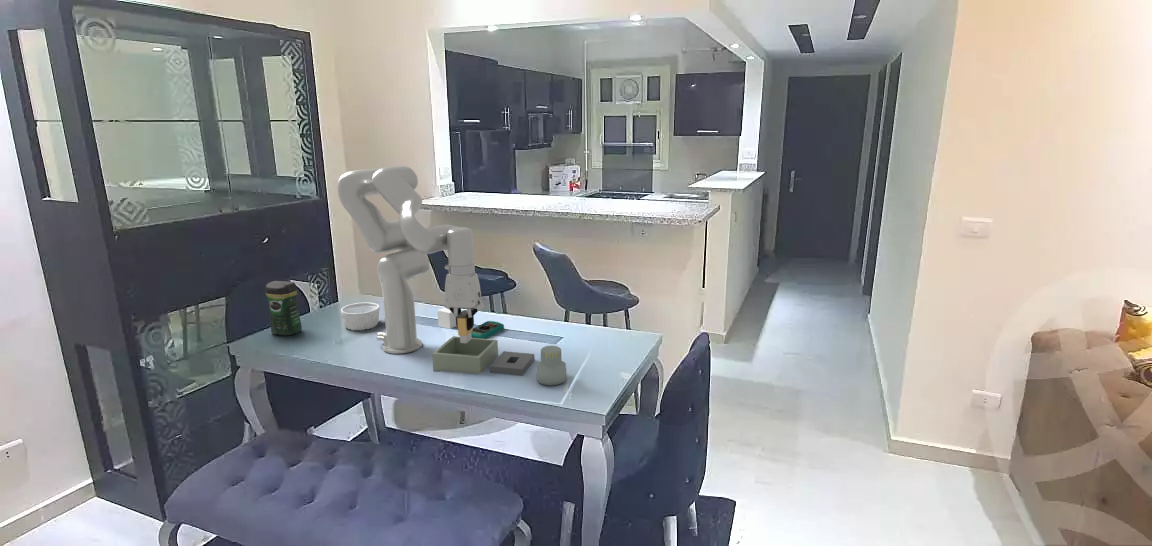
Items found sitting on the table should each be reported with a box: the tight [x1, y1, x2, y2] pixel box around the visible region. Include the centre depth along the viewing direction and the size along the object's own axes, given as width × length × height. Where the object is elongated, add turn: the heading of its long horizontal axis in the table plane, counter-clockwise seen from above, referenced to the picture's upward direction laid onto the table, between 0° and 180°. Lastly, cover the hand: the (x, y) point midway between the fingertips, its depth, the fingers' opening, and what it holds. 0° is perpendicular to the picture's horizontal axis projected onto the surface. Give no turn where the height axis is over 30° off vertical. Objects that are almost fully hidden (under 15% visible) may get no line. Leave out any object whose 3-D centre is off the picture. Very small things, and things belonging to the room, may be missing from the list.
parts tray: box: [431, 335, 499, 375], centre depth 187 cm, size 15×15×6 cm
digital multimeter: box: [471, 320, 505, 339], centre depth 212 cm, size 7×15×3 cm, turn 154°
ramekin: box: [340, 301, 381, 331], centre depth 220 cm, size 13×13×7 cm
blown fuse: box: [457, 309, 474, 343], centre depth 184 cm, size 2×5×9 cm, turn 167°
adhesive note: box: [437, 307, 457, 329], centre depth 221 cm, size 6×6×6 cm
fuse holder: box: [489, 351, 536, 376], centre depth 184 cm, size 10×12×2 cm
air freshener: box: [536, 345, 568, 387], centre depth 173 cm, size 11×8×10 cm
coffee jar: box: [265, 280, 303, 336], centre depth 212 cm, size 10×8×19 cm
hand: (465, 327), depth 184 cm, fingers closed on blown fuse, 2 cm apart
